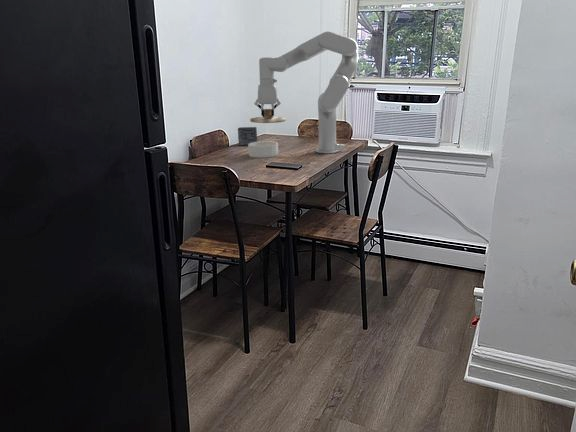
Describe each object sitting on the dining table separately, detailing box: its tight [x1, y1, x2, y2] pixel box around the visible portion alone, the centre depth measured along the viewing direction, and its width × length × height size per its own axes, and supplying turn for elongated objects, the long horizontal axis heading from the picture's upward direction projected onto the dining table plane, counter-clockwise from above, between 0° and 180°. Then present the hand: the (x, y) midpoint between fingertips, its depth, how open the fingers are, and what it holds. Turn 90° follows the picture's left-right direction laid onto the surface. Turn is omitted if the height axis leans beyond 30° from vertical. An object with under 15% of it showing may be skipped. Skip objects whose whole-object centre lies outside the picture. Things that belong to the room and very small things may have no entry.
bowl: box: [247, 140, 279, 159], centre depth 276 cm, size 16×16×6 cm
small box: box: [237, 126, 258, 147], centre depth 306 cm, size 11×6×10 cm, turn 84°
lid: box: [249, 108, 287, 124], centre depth 275 cm, size 19×19×6 cm
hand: (267, 116), depth 275 cm, fingers closed on lid, 4 cm apart
